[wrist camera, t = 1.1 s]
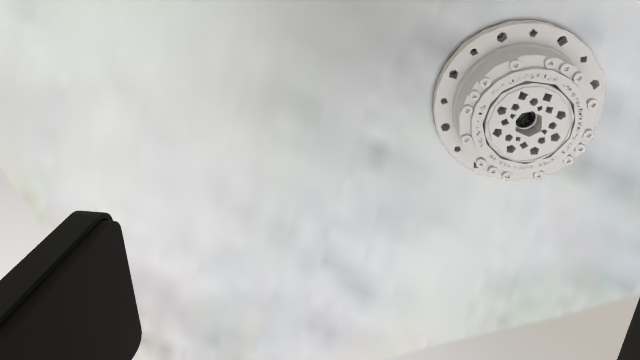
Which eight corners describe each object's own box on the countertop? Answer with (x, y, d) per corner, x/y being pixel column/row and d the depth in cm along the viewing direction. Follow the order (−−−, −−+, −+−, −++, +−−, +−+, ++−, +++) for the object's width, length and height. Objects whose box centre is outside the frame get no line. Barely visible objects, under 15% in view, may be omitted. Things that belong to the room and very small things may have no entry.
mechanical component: (633, 64, 32) (488, -12, 31) (667, 85, 28) (502, -1, 27) (533, 193, 36) (404, 130, 35) (550, 227, 32) (406, 157, 31)
